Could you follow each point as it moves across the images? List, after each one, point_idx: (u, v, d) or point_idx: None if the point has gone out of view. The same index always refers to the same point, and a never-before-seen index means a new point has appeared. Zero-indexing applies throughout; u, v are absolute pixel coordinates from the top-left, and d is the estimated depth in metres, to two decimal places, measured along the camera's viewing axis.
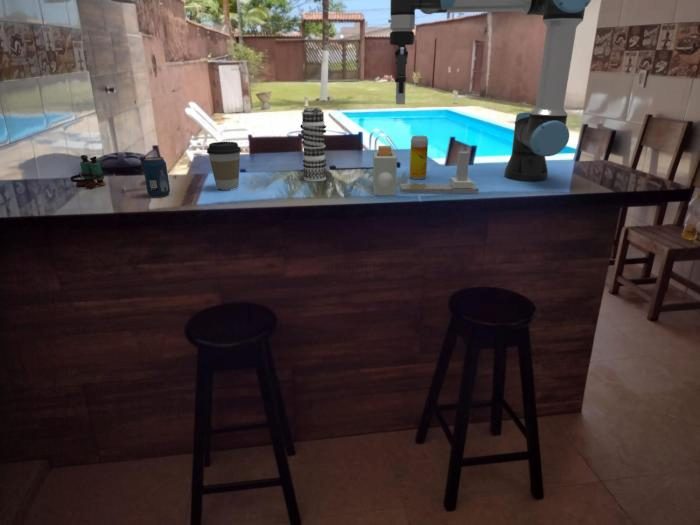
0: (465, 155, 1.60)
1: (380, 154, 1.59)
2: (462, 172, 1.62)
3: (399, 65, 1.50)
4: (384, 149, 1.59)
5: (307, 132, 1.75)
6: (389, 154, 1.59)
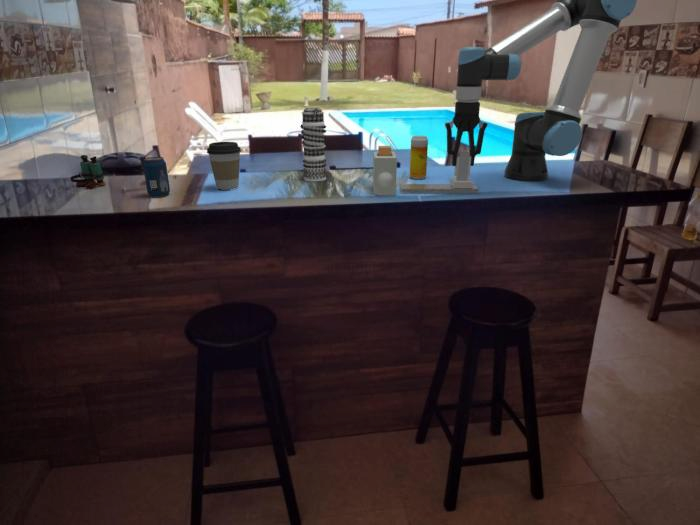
0: (465, 155, 1.60)
1: (380, 154, 1.59)
2: (462, 172, 1.62)
3: (447, 140, 1.60)
4: (384, 149, 1.59)
5: (307, 132, 1.75)
6: (389, 154, 1.59)
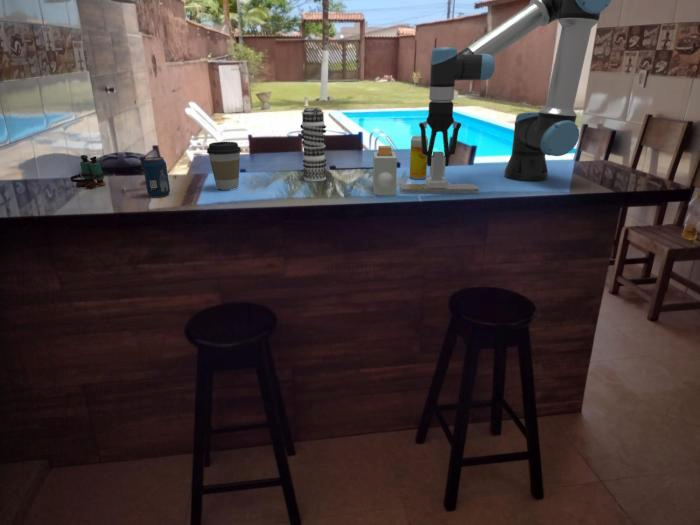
0: (440, 156, 1.60)
1: (380, 154, 1.59)
2: (437, 172, 1.62)
3: (421, 140, 1.60)
4: (384, 149, 1.59)
5: (307, 132, 1.75)
6: (389, 154, 1.59)
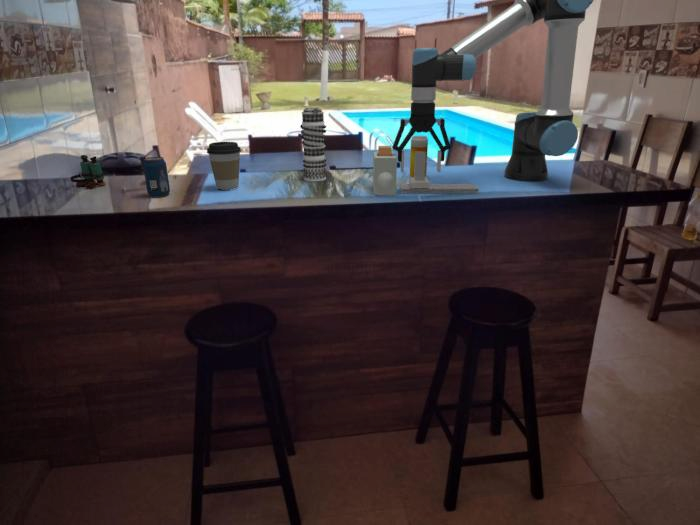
0: (422, 156, 1.60)
1: (380, 154, 1.59)
2: (419, 172, 1.62)
3: None
4: (384, 149, 1.59)
5: (307, 132, 1.75)
6: (389, 154, 1.59)
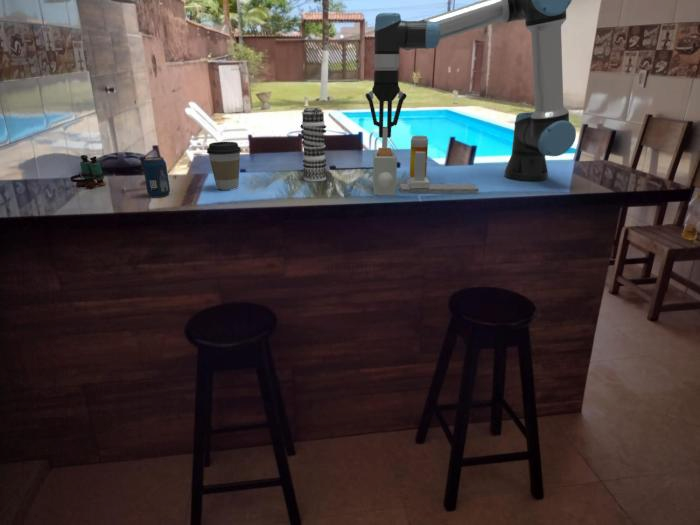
0: (422, 156, 1.60)
1: None
2: (419, 172, 1.62)
3: None
4: (384, 151, 1.59)
5: (307, 132, 1.75)
6: None
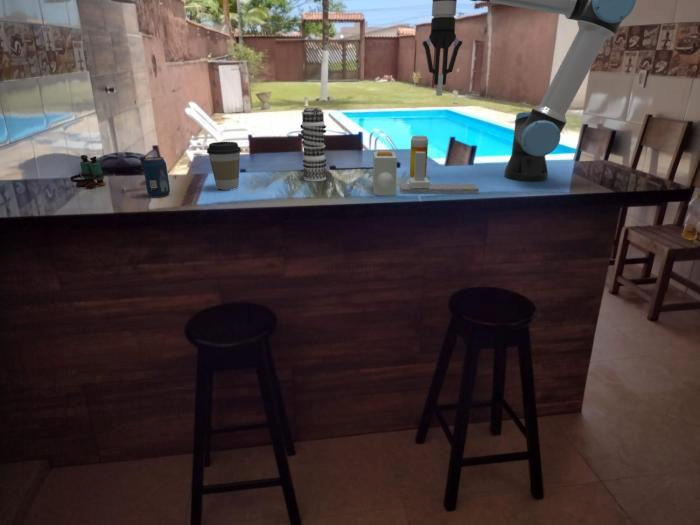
0: (422, 156, 1.60)
1: None
2: (419, 172, 1.62)
3: (427, 59, 1.63)
4: (384, 154, 1.59)
5: (307, 132, 1.75)
6: None
